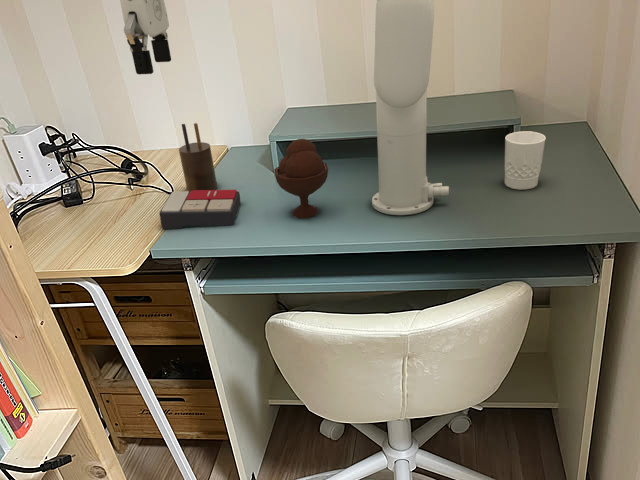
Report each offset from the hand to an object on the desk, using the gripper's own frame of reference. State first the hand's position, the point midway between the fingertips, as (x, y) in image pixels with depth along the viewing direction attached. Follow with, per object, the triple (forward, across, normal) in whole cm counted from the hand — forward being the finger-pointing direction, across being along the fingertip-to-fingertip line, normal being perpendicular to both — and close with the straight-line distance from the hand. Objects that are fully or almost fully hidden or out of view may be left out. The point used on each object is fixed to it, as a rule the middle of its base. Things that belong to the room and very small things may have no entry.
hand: (154, 67), depth 123 cm
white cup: (+29, +11, -72) cm, 78 cm away
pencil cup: (+30, +12, 0) cm, 32 cm away
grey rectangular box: (+30, -2, -5) cm, 31 cm away
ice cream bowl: (+30, -2, -27) cm, 40 cm away
